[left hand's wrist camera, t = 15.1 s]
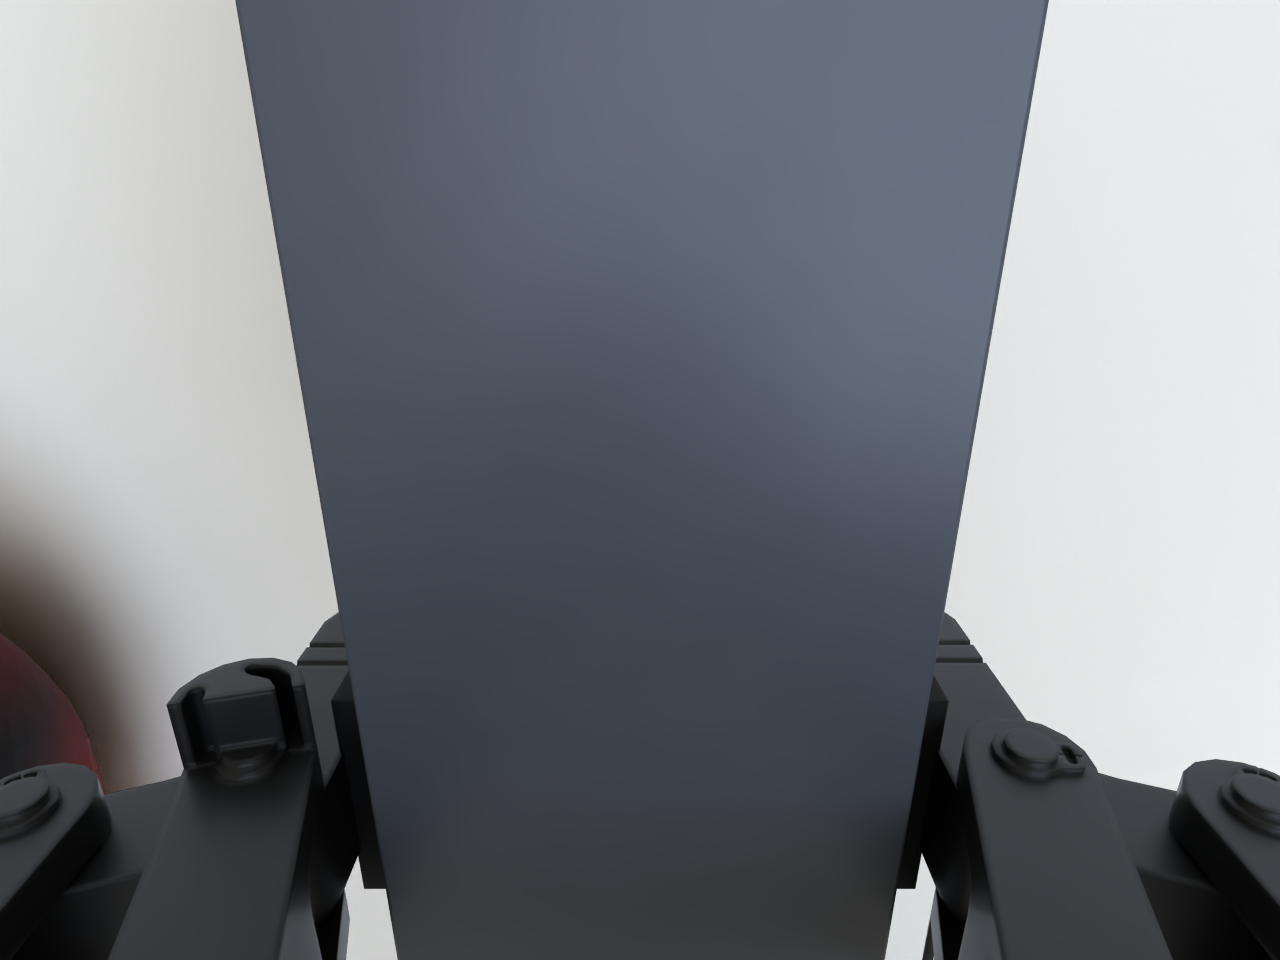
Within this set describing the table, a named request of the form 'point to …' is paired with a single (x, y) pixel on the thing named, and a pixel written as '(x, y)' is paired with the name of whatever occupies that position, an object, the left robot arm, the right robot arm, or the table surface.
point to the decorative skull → (37, 718)
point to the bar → (641, 439)
